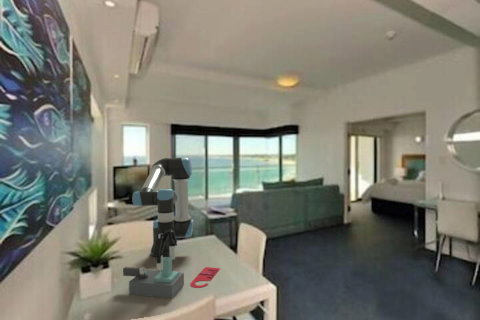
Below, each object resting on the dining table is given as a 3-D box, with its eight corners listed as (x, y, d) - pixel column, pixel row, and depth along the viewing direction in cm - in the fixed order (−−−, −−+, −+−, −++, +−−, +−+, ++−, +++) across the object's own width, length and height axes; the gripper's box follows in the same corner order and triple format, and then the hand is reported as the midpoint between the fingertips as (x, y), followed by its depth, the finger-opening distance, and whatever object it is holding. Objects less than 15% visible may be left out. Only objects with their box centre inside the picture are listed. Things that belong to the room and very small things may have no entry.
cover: (162, 273, 143) (162, 254, 142) (179, 274, 141) (178, 255, 141) (153, 281, 134) (153, 261, 134) (171, 282, 132) (170, 262, 132)
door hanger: (220, 268, 162) (204, 288, 138) (220, 269, 162) (204, 289, 138) (205, 266, 165) (187, 286, 141) (205, 267, 165) (187, 287, 141)
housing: (144, 281, 148) (144, 269, 147) (184, 284, 143) (183, 272, 143) (129, 294, 134) (129, 281, 134) (172, 298, 130) (172, 284, 129)
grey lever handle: (147, 275, 140) (146, 267, 139) (144, 278, 137) (143, 269, 136) (125, 274, 141) (125, 266, 141) (122, 277, 138) (122, 268, 138)
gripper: (169, 215, 150) (170, 254, 150) (145, 226, 125) (146, 273, 125) (183, 215, 148) (183, 255, 148) (160, 227, 124) (161, 275, 124)
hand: (166, 264), depth 137 cm, fingers open, 13 cm apart
